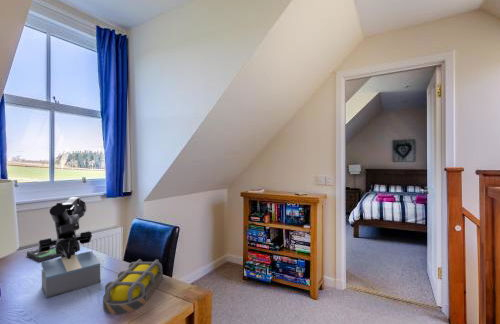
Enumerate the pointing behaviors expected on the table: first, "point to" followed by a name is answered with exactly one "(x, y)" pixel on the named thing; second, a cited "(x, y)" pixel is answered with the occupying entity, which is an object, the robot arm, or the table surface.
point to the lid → (69, 264)
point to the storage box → (70, 281)
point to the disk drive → (43, 254)
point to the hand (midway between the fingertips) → (69, 258)
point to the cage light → (132, 287)
